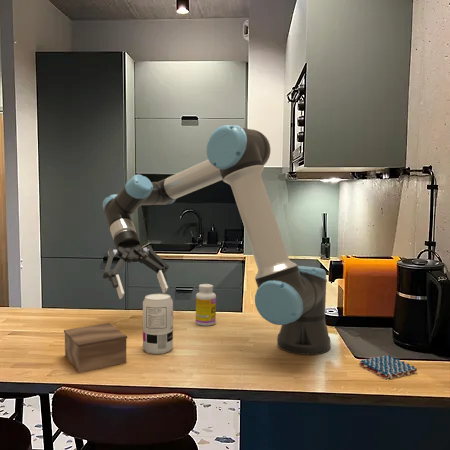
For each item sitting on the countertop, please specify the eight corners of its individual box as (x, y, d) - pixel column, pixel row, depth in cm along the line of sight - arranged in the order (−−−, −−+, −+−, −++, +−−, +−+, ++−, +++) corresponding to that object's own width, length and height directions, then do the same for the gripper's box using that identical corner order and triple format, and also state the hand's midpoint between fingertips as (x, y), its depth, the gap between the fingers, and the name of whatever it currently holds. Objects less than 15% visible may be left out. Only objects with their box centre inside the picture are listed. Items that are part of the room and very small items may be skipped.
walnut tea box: (127, 362, 118) (127, 336, 118) (78, 373, 111) (78, 344, 111) (109, 347, 129) (109, 322, 129) (64, 355, 122) (63, 330, 122)
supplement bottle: (213, 327, 149) (213, 288, 148) (193, 325, 150) (193, 287, 149) (217, 321, 156) (218, 283, 154) (198, 319, 157) (198, 282, 156)
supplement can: (136, 349, 128) (136, 296, 127) (160, 342, 134) (160, 291, 133) (155, 357, 122) (155, 301, 121) (178, 349, 128) (179, 296, 127)
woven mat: (356, 367, 119) (356, 359, 119) (387, 361, 123) (388, 353, 123) (386, 383, 109) (386, 374, 109) (419, 375, 114) (419, 367, 114)
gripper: (157, 242, 154) (178, 295, 143) (82, 246, 140) (99, 305, 129) (164, 227, 149) (186, 281, 138) (87, 230, 135) (105, 291, 124)
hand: (144, 293), depth 134 cm, fingers open, 13 cm apart
